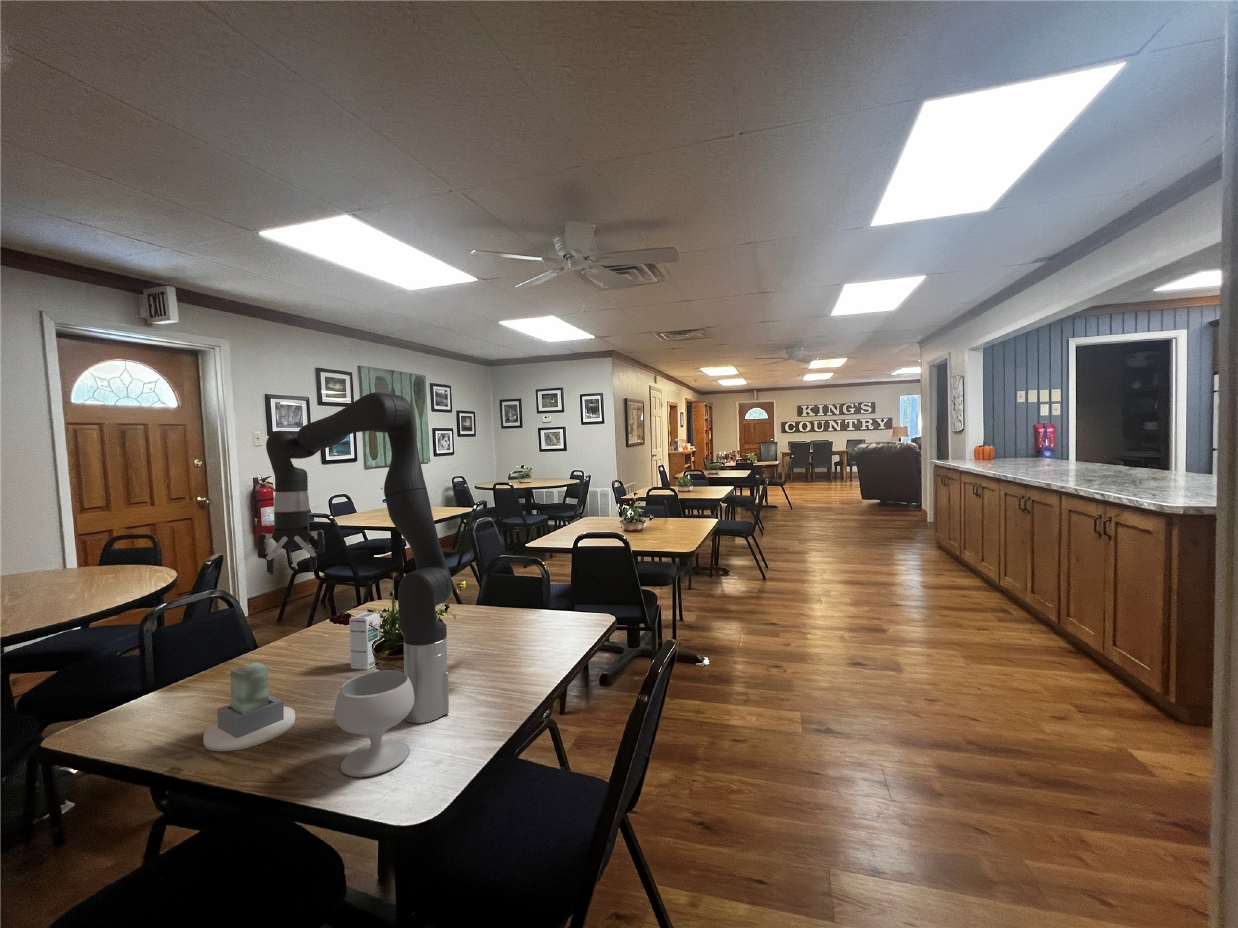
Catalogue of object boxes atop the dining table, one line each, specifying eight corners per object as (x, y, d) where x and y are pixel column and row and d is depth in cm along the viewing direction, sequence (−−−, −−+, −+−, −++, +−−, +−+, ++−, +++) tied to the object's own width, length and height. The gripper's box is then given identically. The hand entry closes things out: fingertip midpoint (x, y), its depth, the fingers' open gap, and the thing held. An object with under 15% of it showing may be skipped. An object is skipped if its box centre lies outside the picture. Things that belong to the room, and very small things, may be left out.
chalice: (381, 734, 107) (381, 663, 107) (430, 749, 101) (429, 674, 101) (317, 770, 94) (316, 690, 94) (369, 790, 88) (368, 704, 88)
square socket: (273, 706, 120) (272, 683, 120) (309, 722, 112) (309, 698, 112) (189, 737, 106) (189, 711, 106) (224, 759, 98) (224, 731, 98)
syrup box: (368, 670, 141) (367, 618, 141) (349, 668, 142) (349, 617, 142) (381, 662, 146) (380, 612, 146) (363, 661, 147) (363, 611, 147)
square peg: (257, 715, 112) (256, 661, 112) (268, 721, 110) (268, 666, 110) (231, 725, 108) (230, 669, 108) (242, 731, 105) (242, 674, 105)
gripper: (254, 511, 122) (255, 578, 122) (322, 508, 128) (322, 572, 128) (261, 509, 129) (262, 572, 129) (325, 506, 135) (326, 567, 135)
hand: (292, 572), depth 128 cm, fingers open, 8 cm apart
